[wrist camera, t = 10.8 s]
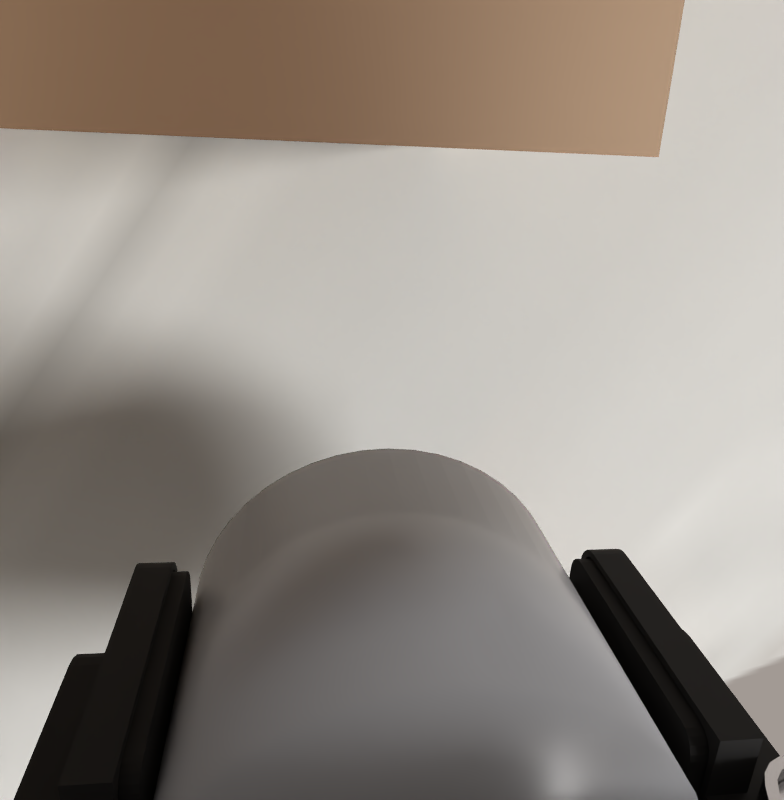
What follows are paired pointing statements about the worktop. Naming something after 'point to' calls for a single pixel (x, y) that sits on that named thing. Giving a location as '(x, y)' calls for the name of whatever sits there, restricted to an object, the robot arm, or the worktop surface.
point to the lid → (347, 71)
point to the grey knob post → (400, 652)
